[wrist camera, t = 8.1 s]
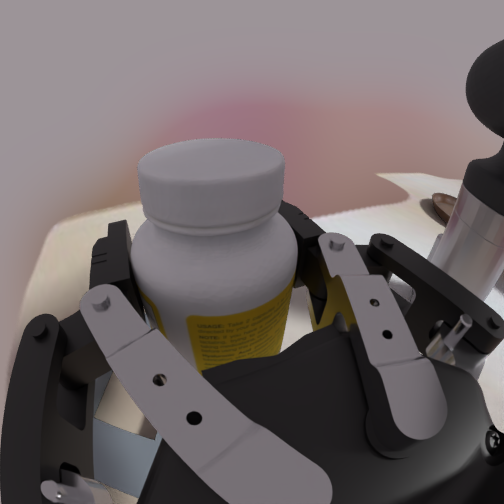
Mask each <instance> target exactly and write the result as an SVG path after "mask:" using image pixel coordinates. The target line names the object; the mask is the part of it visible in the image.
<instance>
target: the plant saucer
mask: <svg viewBox="0 0 504 504" xmlns="http://www.w3.org/2000/svg"><path fill="white" fill-rule="evenodd" d="M432 200H433V204H434V208H435V210H436V212H437V214H438V215H439V216H440V217H441V218H442V219H443V220H444V221H445V222H447V223H448V221H449V219H450V216H451V214H452V211H453V208H454V205H455V203H456V200H457V198H455V197H453V196H450V195H447V194H443V193H434V194H433V195H432Z"/></svg>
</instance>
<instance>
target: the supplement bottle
mask: <svg viewBox="0 0 504 504" xmlns="http://www.w3.org/2000/svg"><path fill="white" fill-rule="evenodd" d="M137 168H138V169H137V170H138V179H139V187H140V196H141V202H142V205H143V212H144V215H145V217H146V218H147V220H146V221H145V222H144V223H143V224H142V225H141V226H140V228H139V229H138V231H137V232H136V234H135V236H134V239H133V242H132V246H131V253H130V255H131V265H132V270H133V274H134V278H135V282H136V285H137V287H138V291H139V294H140V297H141V300H142V303H143V306H144V309H145V312H146V315H147V318H148V321H149V323H150V326H151V329H153V328H156V329H158V330H159V331H160V332H161V333H162V334H163V336H164V337H165V338H166V339H167V340H168V341H169V342H170V343H171V344H172V345H173V347H174V348H175V349H176V350H177V351H178V352H179V353H180V354H181V355H182V356H183V357H184V358H185V359H186V360H187V361H188V362H189V363H190V365H191V366H192V367H193V368H194V369H195V370H196V371H197V372H198V373H199V374H200V375H201V376H202V373H201V371H202V370H205V369H209V368H212V367H215V366H219V365H222V364H225V363H228V362H232V361H235V360H239V359H249V358H258V357H267V356H274V355H277V354H279V353H280V350H281V345H282V341H283V336H284V331H285V325H286V320H287V315H288V309H289V304H290V299H291V294H292V288H293V283H294V277H295V272H296V265H297V255H298V247H297V241H296V237H295V234H294V232H293V230H292V228H291V226H290V225H289V223H288V222H287V221H286V220H285V219H284V218H283V217H282V216H281V215H280V214H279V213H278V210H279V207H280V204H281V201H282V198H283V184H284V169H285V159H284V156H283V155H282V154H281V152H280V151H278V150H277V149H275V148H273V147H270V146H268V145H264V144H261V143H257V142H253V141H247V140H241V139H222V138H213V139H212V138H211V139H196V140H188V141H183V142H178V143H174V144H170V145H167V146H163V147H160V148H158V149H155V150H153V151H151V152H149V153H148V154H146V155H145V156H143V157H142V158H141V160H140V161H139V163H138V167H137Z"/></svg>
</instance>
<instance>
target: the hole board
mask: <svg viewBox="0 0 504 504" xmlns="http://www.w3.org/2000/svg"><path fill="white" fill-rule="evenodd" d="M145 318H146V323H147V325H148V327H149V328H150V329H151V326H150V323H149V321H148V318H147V315H146V314H145ZM112 372H113V370H111V371H109V372H107V373H106V374H104V375H102V376H100V377H98V378H97V379H96V382H95V394H94V411H93V464H94V479H95V480H97V481H99V482H101V483H103V484H106V485H108V486H110V487H112V488H115V489H117V490H119V491H122V492H124V493H127V494H129V495H132V496H134V497H137V498H139V496H140V494H141V491H142V489H143V486H144V483H145V481H146V478H147V476H148V473H149V470H150V468H151V465H152V463H153V460H154V457H155V455H156V452H157V450H158V447H159V445H160V442H161V440H162V436H161V435H160V434H159V433H158V432H157V434H156V438H155V440H152V439H149V438H145V437H142V436H139V435H136V434H134V433H131V432H128V431H125V430H123V429H120V428H117V427H115V426H112V425H110V424H107V423H105V422H103V421H100V420H98V419H96V418H94V415H95V413H96V410H97V408H98V405H99V403H100V400H101V398H102V395H103V393H104V390H105V388H106V386H107V383H108V381H109V379H110V376H111V374H112Z"/></svg>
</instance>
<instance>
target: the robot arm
mask: <svg viewBox="0 0 504 504" xmlns="http://www.w3.org/2000/svg"><path fill="white" fill-rule="evenodd" d="M466 96H467V101H468V104H469V106H470V108H471V110H472V112H473V113H474V115H475V116H476V117H477V119H478V120H479V121H480V122H481V123H482V124H483V125H485V126H486V127H487V128H489V129H490V130H491V131H492V132H494V133H495V134H497V135H499V136H501V137H502V138H504V40H502V41H500V42H498V43H496V44H494V45H492V46H491V47H489V48H488V49H486V50H485V51H484V52H483V53H482V54H481V55H480V56H479V57H478V58H477V59H476V60H475V62H474V63H473V65H472V67H471V69H470V71H469V73H468V77H467V81H466ZM278 213H279V214H280V215H281V216H282V217H283V218H284V219H285V220H286V221H287V222H288V223H289V225H290V226H291V228H292V230H293V232H294V234H295V237H296V241H297V247H298V255H297V265H296V272H295V277H294V283H293V287H294V288H298V287H301V286H304V285H306V287H307V291H306V300H307V304H308V309H309V314H310V318H311V323H312V328H313V332H311V333H309V334H306V335H304V336H303V337H302V338H300V339H299V340H298V341H296V342H295V343H293V344H292V345H291V346H289V347H288V348H287V349H285V350H284V351H282V352H281V353H279V354H277V355H274V356H267V357H258V358H249V359H239V360H235V361H232V362H228V363H225V364H222V365H219V366H215V367H212V368H209V369H205V370H202V371H201V373H202V376H201V375H200V374H199V373H198V372H197V371H196V370H195V369H194V368H193V367H192V366H191V365H190V363H189V362H188V361H187V360H186V359H185V358H184V357H183V356H182V355H181V354H180V353H179V352H178V351H177V350H176V349H175V348H174V347H173V345H172V344H171V343H170V342H169V341H168V340H167V339H166V338H165V337H164V336H163V334H162V333H161V332H160V331H159V330H158V329H156V328H153V329H150V328H149V327H148V325H147V323H146V318H145V312H144V307H143V303H142V300H141V297H140V294H139V291H138V287H137V285H136V282H135V278H134V274H133V270H132V265H131V255H130V253H131V246H132V241H131V237H130V233H129V228H128V224H127V221H126V220H122V221H118V222H113V223H109V224H108V237H104V238H100V239H98V240H97V242H96V243H95V245H94V246H93V249H92V259H91V270H90V285H89V291H88V292H86V293H85V294H84V296H83V297H82V299H81V301H80V310H79V311H77V312H76V313H74V314H73V315H71V316H69V317H67V318H65V319H64V320H62V321H60V322H58V320H57V319H56V317H54V316H53V315H51V314H42V315H39V316H37V317H35V318H34V319H32V320H31V321H30V322H29V323H28V325H27V326H26V328H25V330H24V332H23V335H22V339H21V342H20V345H19V348H18V352H17V355H16V359H15V363H14V366H13V370H12V375H11V379H10V383H9V388H8V393H7V398H6V404H5V410H4V417H3V425H2V435H1V448H0V491H1V503H2V504H113V502H112V498H111V496H110V494H109V492H108V491H107V489H106V488H105V487H104V486H103V485H102V484H101V483H99V482H98V481H96V480H94V464H93V411H94V394H95V382H96V379H97V378H98V377H100V376H102V375H104V374H106V373H107V372H109V371H111V370H113V371H114V373H115V375H116V376H117V378H118V379H119V381H120V382H121V384H122V385H123V387H124V388H125V390H126V391H127V392H128V394H129V395H130V397H131V398H132V399H133V401H134V402H135V404H136V405H137V406H138V408H139V409H140V410H141V412H142V413H143V414H144V415H145V417H146V418H147V419H148V421H149V422H150V423H151V424H152V426H153V427H154V428H155V429H156V430H157V432H158V433H159V434H160V435H161V436H162V440H161V442H160V445H159V447H158V450H157V452H156V455H155V457H154V460H153V463H152V465H151V468H150V470H149V473H148V476H147V478H146V481H145V483H144V486H143V489H142V491H141V494H140V496H139V499H138V502H137V504H504V433H502V432H500V431H499V430H497V428H496V427H495V426H494V424H493V422H492V420H491V417H490V415H489V412H488V409H487V406H486V403H485V399H484V395H483V392H482V389H481V387H480V385H479V383H478V382H477V380H478V378H479V376H480V373H481V371H482V368H483V366H484V363H485V361H486V358H487V357H488V356H489V355H490V353H491V352H492V351H493V350H494V349H495V348H496V347H497V346H498V345H499V343H500V342H501V341H502V340H503V339H504V320H503V319H502V318H501V316H500V315H499V314H497V313H496V312H495V311H494V310H493V309H492V308H490V307H489V306H488V305H487V304H485V303H484V301H485V299H486V298H487V296H488V295H489V293H490V291H491V290H492V288H493V287H494V285H495V284H496V282H497V280H498V279H499V277H500V275H501V274H502V272H503V270H504V142H503V145H502V148H501V150H500V151H499V153H497V154H496V155H494V156H492V157H490V158H486V159H476V160H472V162H470V163H469V165H468V167H467V169H466V172H465V176H464V179H463V183H462V185H461V188H460V191H459V194H458V197H457V200H456V203H455V205H454V208H453V211H452V214H451V216H450V219H449V221H448V224H447V226H446V229H445V231H444V233H443V234H439V235H438V236H437V238H436V241H435V243H434V245H433V247H432V250H431V252H430V254H429V256H428V258H427V259H425V258H424V257H422V256H421V255H419V254H418V253H416V252H415V251H413V250H412V249H410V248H409V247H407V246H406V245H404V244H403V243H401V242H400V241H398V240H397V239H395V238H393V237H391V236H389V235H386V234H380V233H378V234H374V235H372V236H371V239H370V242H369V245H355V244H354V243H353V241H352V240H351V239H349V238H348V237H346V236H344V235H342V234H339V233H326V232H325V231H324V230H323V229H321V228H320V227H319V226H318V225H317V224H316V223H315V222H313V221H312V220H311V219H309V217H308V216H307V215H305V214H304V213H303V212H302V211H301V210H300V209H298V208H297V207H296V206H293V205H291V204H289V203H286V202H284V201H283V200H282V201H281V204H280V207H279V210H278ZM393 273H394V274H395V275H396V276H398V277H399V278H400V279H402V280H403V281H405V282H406V283H407V284H409V285H410V286H411V287H412V291H413V296H412V298H411V302H410V303H409V302H408V301H406V300H405V299H404V298H402V297H401V296H400V295H398V294H397V293H396V292H395V291H393V290H392V289H391V288H389V286H388V283H389V281H390V278H391V276H392V274H393ZM419 352H420V353H422V354H423V355H422V354H420V353H419Z"/></svg>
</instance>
